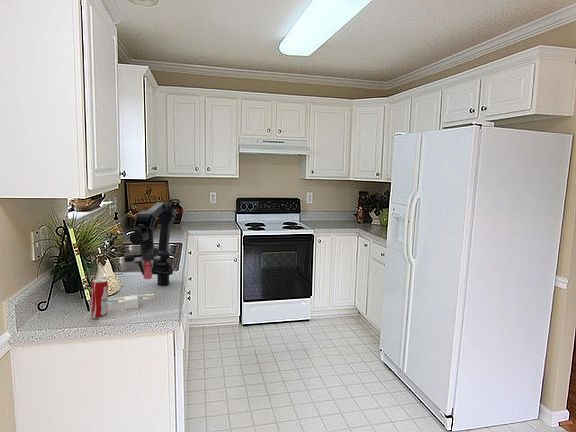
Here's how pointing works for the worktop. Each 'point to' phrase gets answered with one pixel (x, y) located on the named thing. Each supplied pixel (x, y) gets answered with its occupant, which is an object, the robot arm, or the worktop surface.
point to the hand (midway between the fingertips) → (147, 274)
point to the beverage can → (99, 298)
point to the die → (131, 302)
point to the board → (116, 300)
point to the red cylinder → (147, 269)
